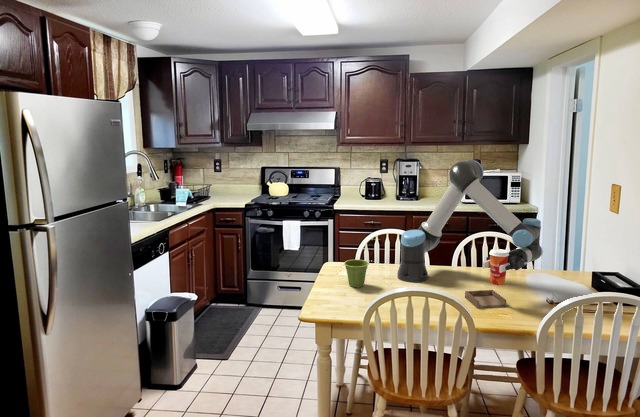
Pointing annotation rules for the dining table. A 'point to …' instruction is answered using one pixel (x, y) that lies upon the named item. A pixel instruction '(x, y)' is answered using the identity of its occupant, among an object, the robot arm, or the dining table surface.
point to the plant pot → (356, 272)
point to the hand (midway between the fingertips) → (491, 267)
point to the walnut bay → (485, 299)
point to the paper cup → (497, 266)
